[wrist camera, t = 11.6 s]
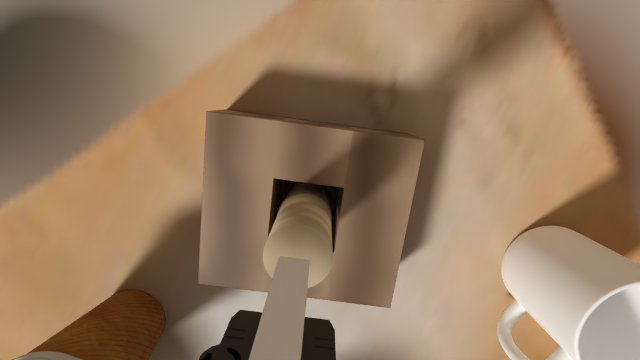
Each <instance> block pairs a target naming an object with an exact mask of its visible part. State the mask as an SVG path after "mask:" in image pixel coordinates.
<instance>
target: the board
mask: <svg viewBox="0 0 640 360" xmlns="http://www.w3.org/2000/svg"><path fill="white" fill-rule="evenodd" d="M424 142H425V141H424V140H422V139H419V138H417V137H414V136H412V135H409V134H405V133H397V132H390V131H382V130H375V129H368V128H360V127H353V126H345V125H338V124H330V123H323V122H315V121H308V120H301V119H293V118H286V117H278V116H271V115H263V114H256V113H249V112H241V111H234V110H216V111H206V131H205V152H204V172H203V192H202V213H201V233H200V253H199V274H198V284H205V285H213V286H221V287H228V288H236V289H244V290H252V291H260V292H269V289H270V285H271V282H272V278H271V277H270V275H269V274H268V273H267V271H266V269H265V266H264V263H263V250H264V246H265V244H266V241H267V239H268V237H269V234H270V232H271V229H272V227H273V225H274V222H275V220H276V217H277V208H278V199H279V189H280V180H281V179H282V180H290V181H297V182H305V183H313V184H320V185H328V186H335V187H339V191H338V198H337V205H336V211H335V218H334V225H333V229H331V230H332V251H333V262H332V267H331V269H330V271H329V273H328V275H327V276H326V277H325V278H324V279H323V280H322V281H321V282H320V283H318V284H317V285H315V286H313V287H310V288H307V298H315V299H323V300H331V301H339V302H347V303H355V304H363V305H371V306H378V307H386V308H390V307H391V302H392V297H393V292H394V287H395V282H396V278H397V273H398V268H399V263H400V258H401V253H402V249H403V244H404V239H405V234H406V229H407V224H408V220H409V215H410V210H411V205H412V200H413V195H414V191H415V186H416V181H417V176H418V171H419V166H420V162H421V157H422V152H423V147H424Z"/></svg>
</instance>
